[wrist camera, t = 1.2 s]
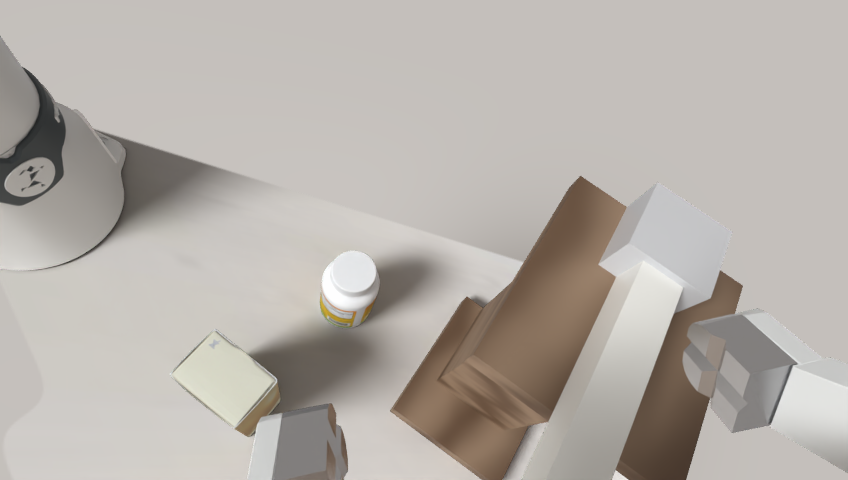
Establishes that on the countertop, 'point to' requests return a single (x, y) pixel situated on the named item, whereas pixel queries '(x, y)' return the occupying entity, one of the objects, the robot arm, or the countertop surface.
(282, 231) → the countertop surface
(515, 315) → the stand
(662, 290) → the grey tan flat bar
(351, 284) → the supplement bottle
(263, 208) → the countertop surface
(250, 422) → the skincare box
